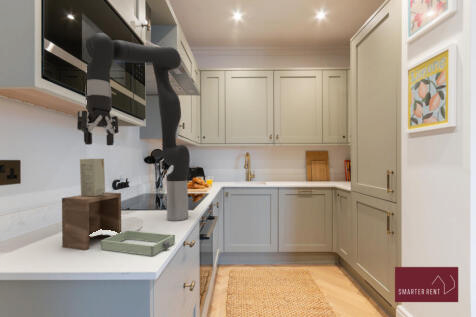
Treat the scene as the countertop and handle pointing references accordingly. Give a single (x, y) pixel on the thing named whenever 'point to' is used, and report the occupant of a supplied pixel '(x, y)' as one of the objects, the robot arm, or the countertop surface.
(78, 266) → the countertop surface
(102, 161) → the skincare box
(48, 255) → the countertop surface
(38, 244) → the countertop surface
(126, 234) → the sliding drawer
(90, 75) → the robot arm
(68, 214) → the walnut shelf
